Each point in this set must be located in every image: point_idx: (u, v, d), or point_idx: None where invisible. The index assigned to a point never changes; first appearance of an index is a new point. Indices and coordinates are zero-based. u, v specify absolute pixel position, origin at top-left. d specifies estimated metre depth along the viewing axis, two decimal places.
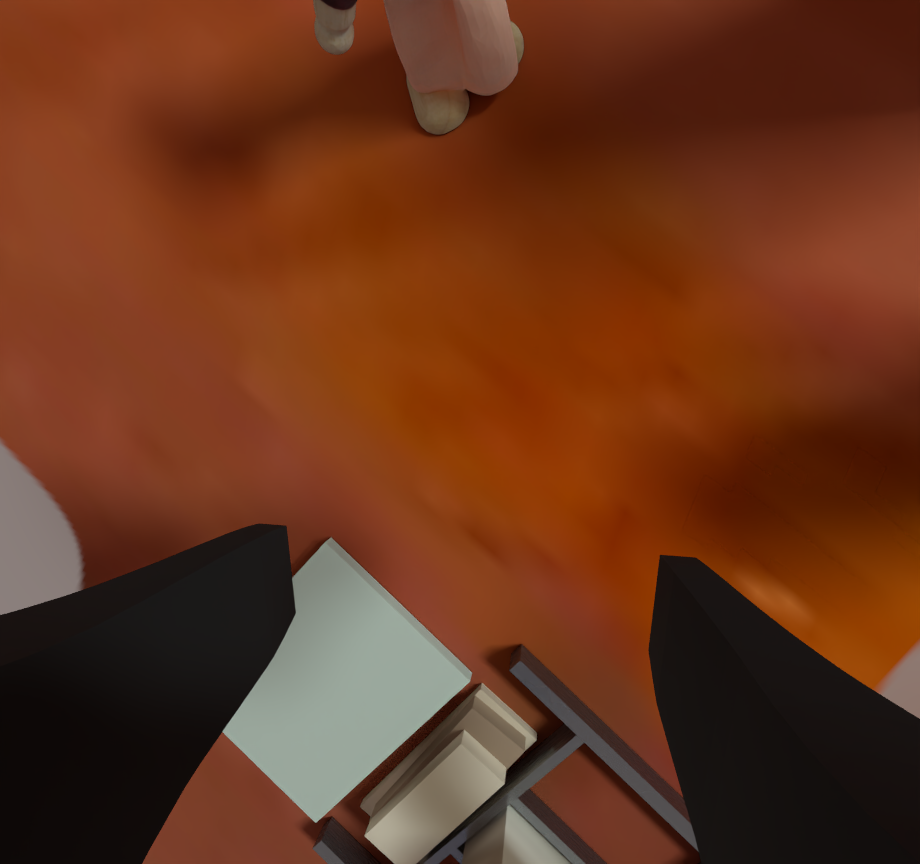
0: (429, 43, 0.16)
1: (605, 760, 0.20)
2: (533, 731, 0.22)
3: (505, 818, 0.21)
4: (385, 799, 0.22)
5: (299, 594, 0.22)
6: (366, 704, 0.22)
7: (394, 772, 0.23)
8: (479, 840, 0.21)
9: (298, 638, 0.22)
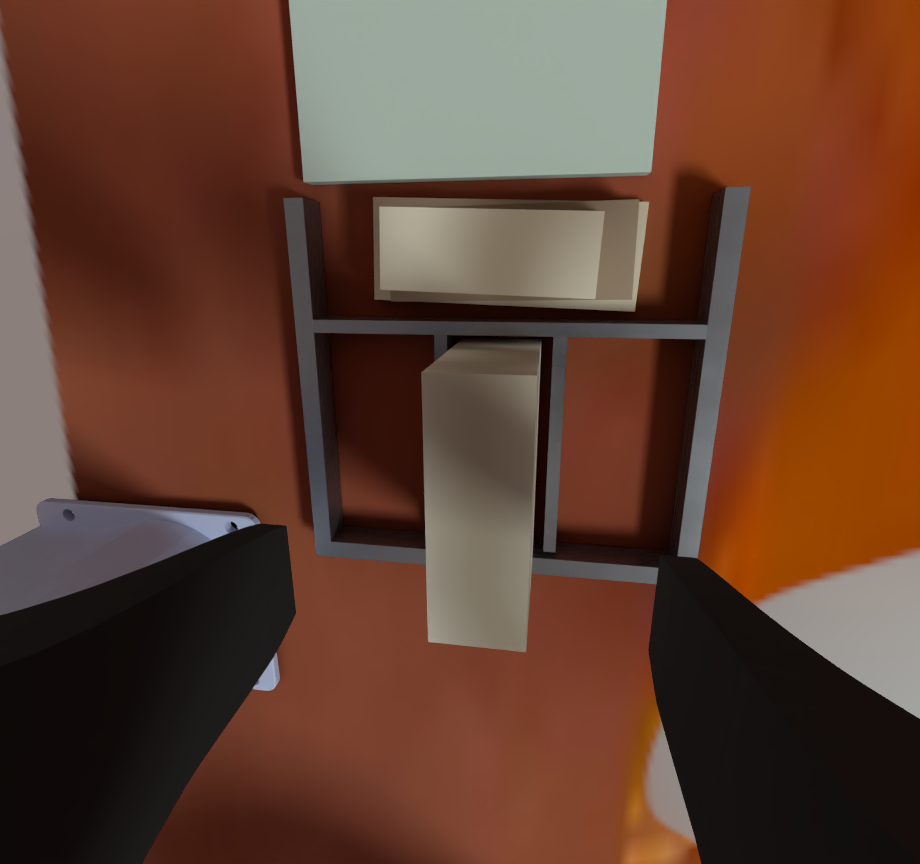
0: None
1: (702, 375, 0.15)
2: None
3: (540, 345, 0.16)
4: None
5: None
6: (504, 87, 0.15)
7: (450, 199, 0.16)
8: (488, 344, 0.16)
9: None
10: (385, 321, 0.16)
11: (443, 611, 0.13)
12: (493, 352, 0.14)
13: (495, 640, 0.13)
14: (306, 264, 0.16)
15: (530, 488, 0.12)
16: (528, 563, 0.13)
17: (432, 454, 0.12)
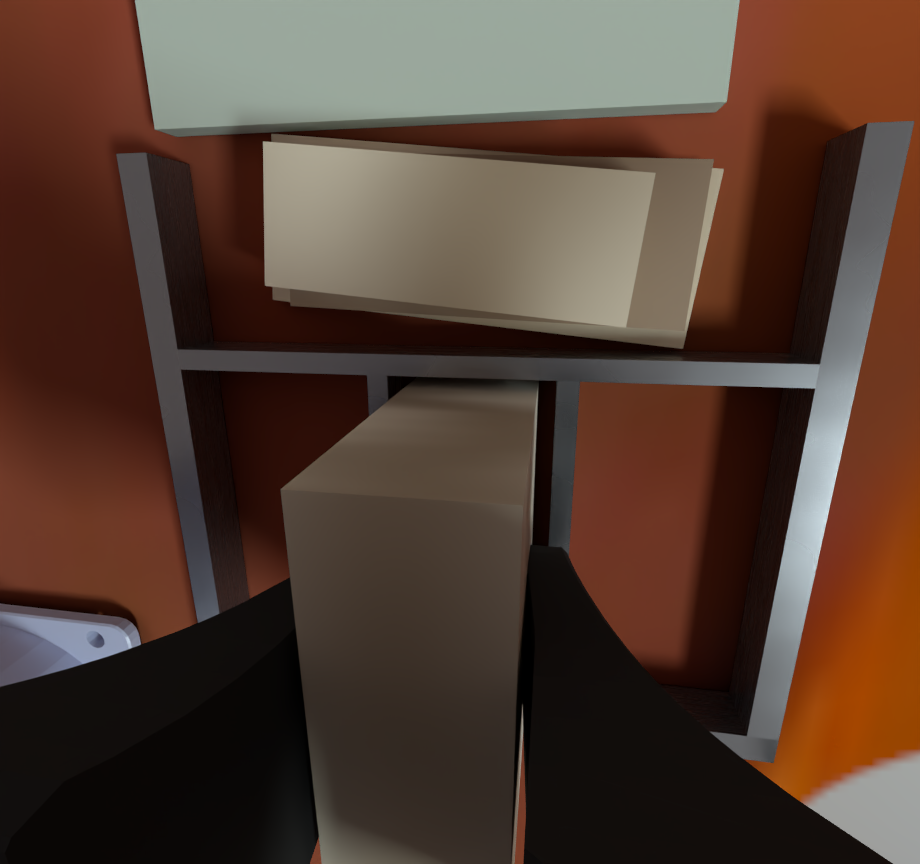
0: None
1: (806, 447, 0.09)
2: None
3: (535, 395, 0.09)
4: None
5: None
6: None
7: (396, 144, 0.10)
8: (450, 393, 0.10)
9: None
10: (288, 353, 0.10)
11: None
12: (452, 416, 0.08)
13: None
14: (160, 262, 0.10)
15: (511, 719, 0.06)
16: (509, 842, 0.07)
17: (313, 645, 0.06)
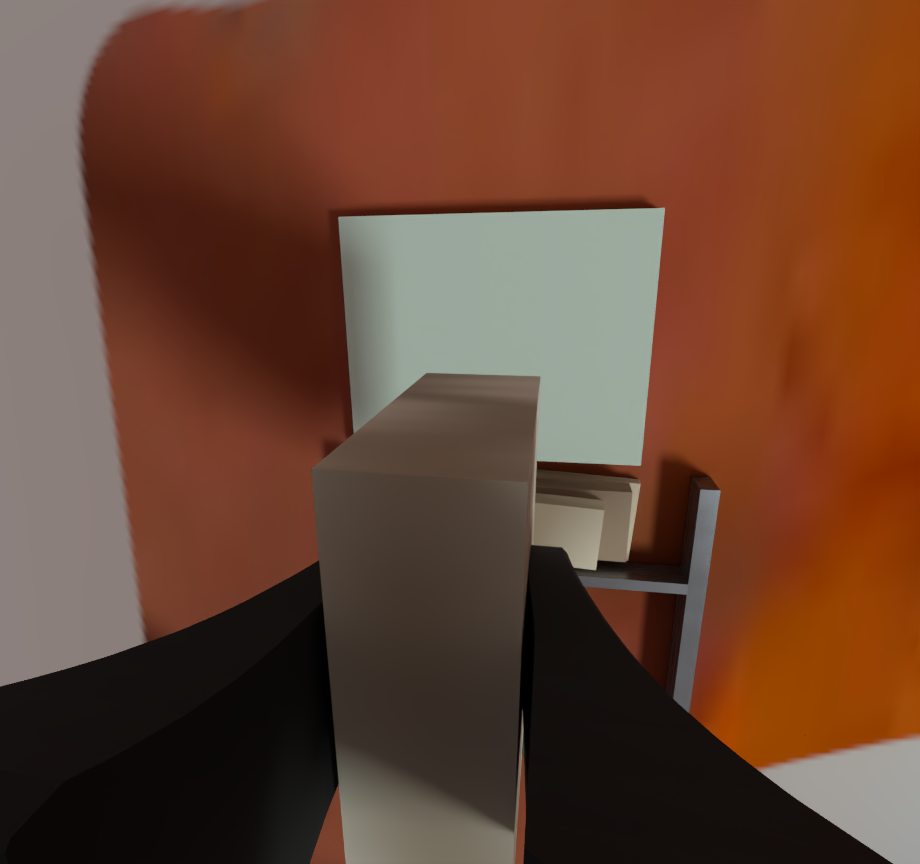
0: None
1: (684, 620, 0.19)
2: None
3: (538, 390, 0.10)
4: None
5: (576, 234, 0.16)
6: None
7: None
8: (458, 388, 0.10)
9: (524, 276, 0.17)
10: None
11: (371, 853, 0.08)
12: (461, 408, 0.09)
13: None
14: None
15: (516, 677, 0.07)
16: (513, 793, 0.07)
17: (338, 611, 0.07)
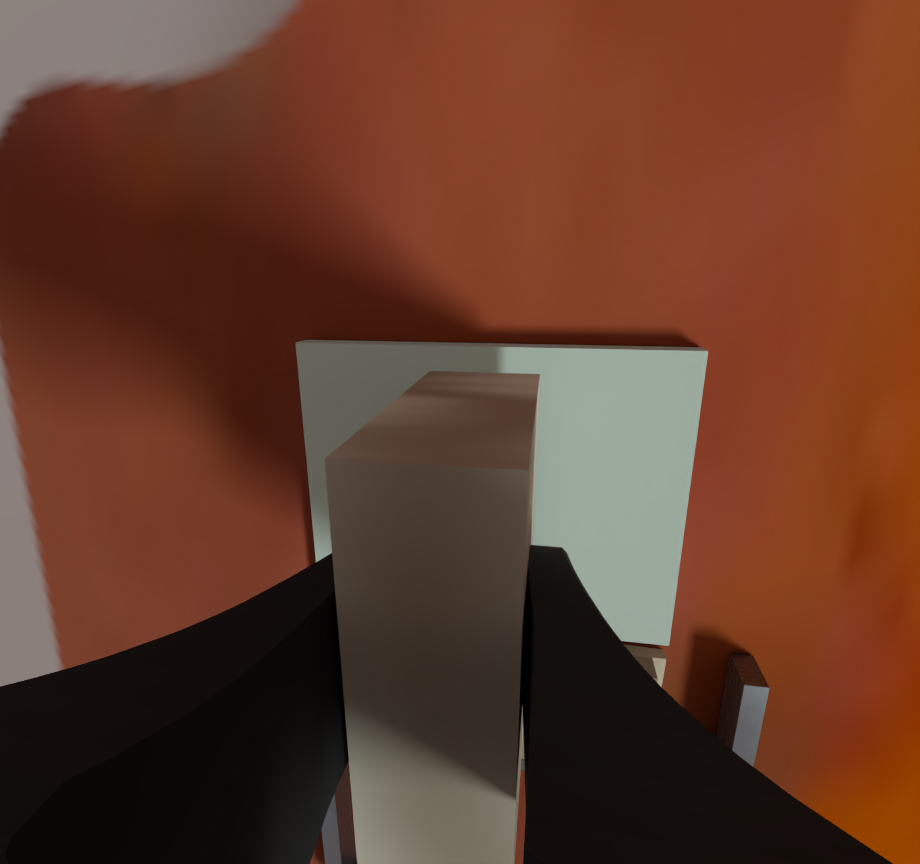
0: None
1: None
2: None
3: (537, 387, 0.11)
4: None
5: (593, 377, 0.13)
6: None
7: None
8: (460, 385, 0.11)
9: None
10: None
11: (379, 827, 0.08)
12: (464, 403, 0.09)
13: None
14: None
15: (517, 656, 0.07)
16: (515, 767, 0.08)
17: (349, 593, 0.07)
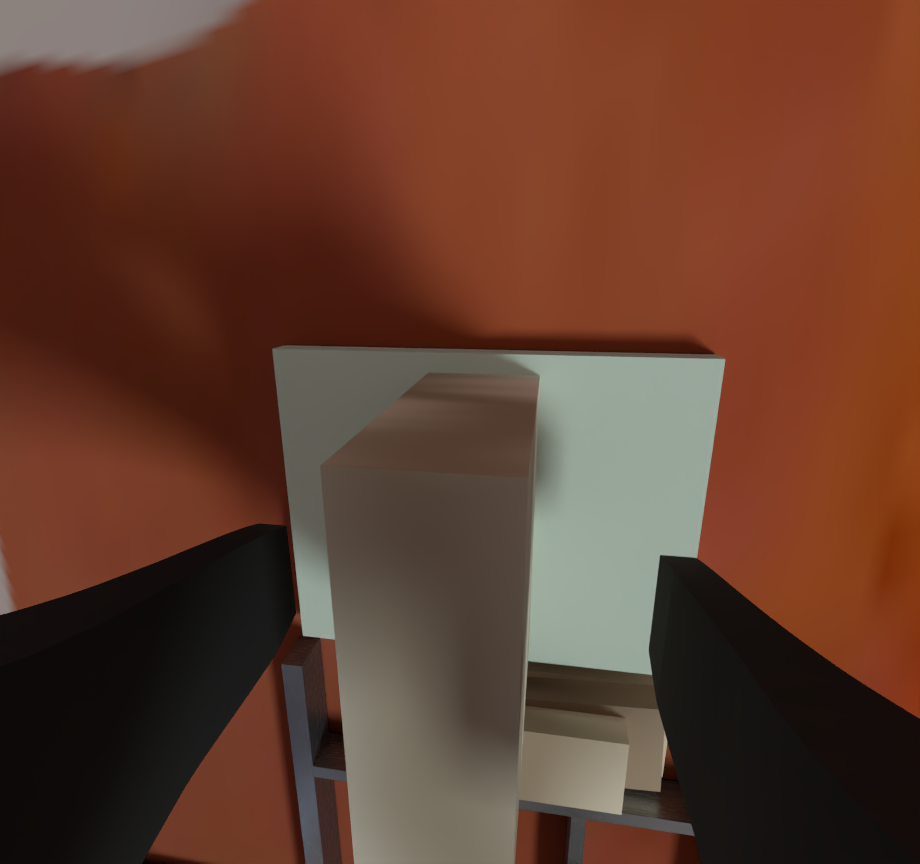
0: None
1: None
2: None
3: (537, 389, 0.10)
4: None
5: (598, 387, 0.12)
6: None
7: None
8: (459, 387, 0.11)
9: None
10: None
11: (377, 836, 0.08)
12: (463, 407, 0.09)
13: None
14: (305, 720, 0.15)
15: (517, 665, 0.07)
16: (515, 777, 0.07)
17: (345, 603, 0.07)
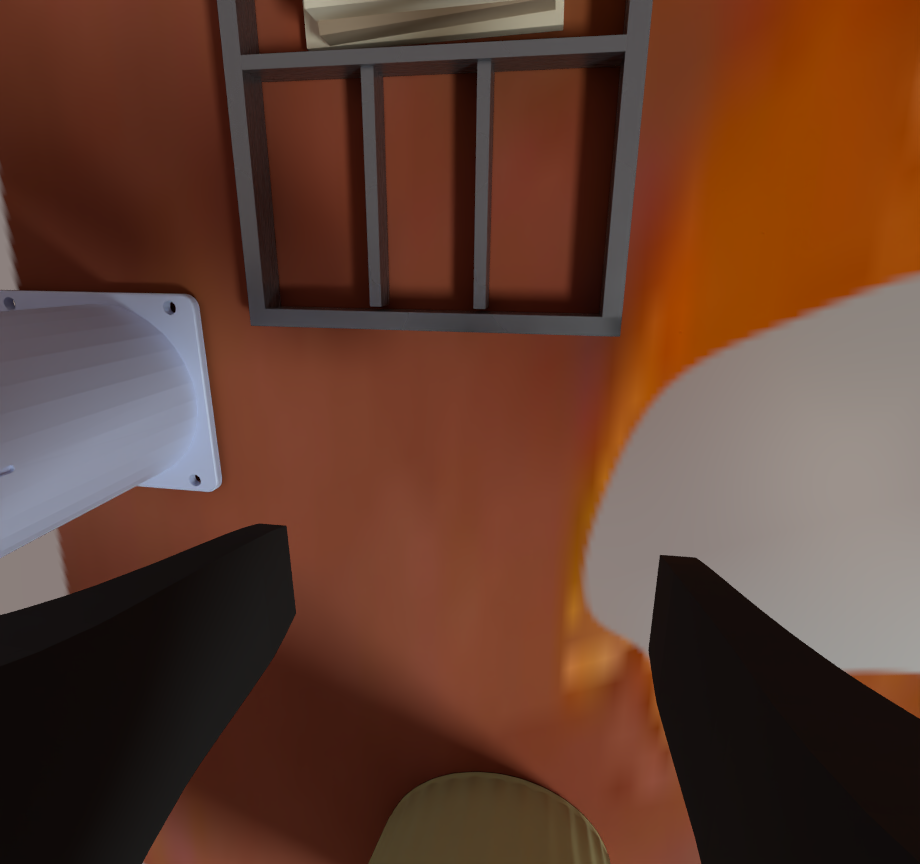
0: None
1: (623, 93, 0.15)
2: None
3: None
4: None
5: None
6: None
7: None
8: None
9: None
10: (311, 52, 0.16)
11: None
12: None
13: None
14: None
15: None
16: None
17: None
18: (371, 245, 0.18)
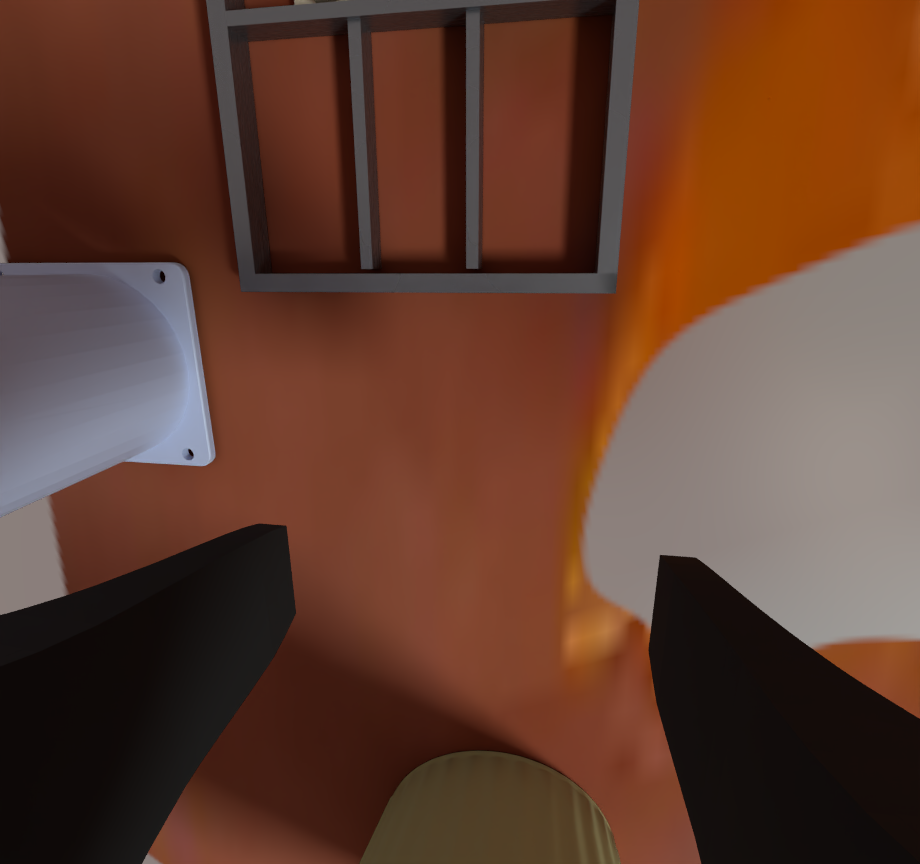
0: None
1: (615, 39, 0.15)
2: None
3: None
4: None
5: None
6: None
7: None
8: None
9: None
10: (297, 5, 0.16)
11: None
12: None
13: None
14: None
15: None
16: None
17: None
18: (361, 205, 0.18)
